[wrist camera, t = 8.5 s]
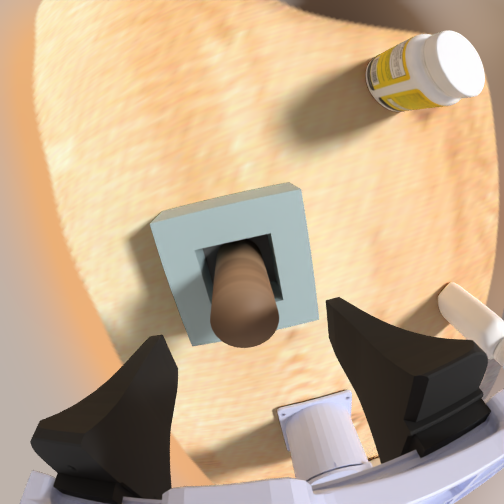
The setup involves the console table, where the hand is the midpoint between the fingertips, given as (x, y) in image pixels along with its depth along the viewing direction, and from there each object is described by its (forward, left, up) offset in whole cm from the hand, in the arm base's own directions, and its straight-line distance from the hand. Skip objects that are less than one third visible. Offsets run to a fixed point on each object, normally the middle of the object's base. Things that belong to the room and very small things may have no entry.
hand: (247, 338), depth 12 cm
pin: (0, 0, -9) cm, 9 cm away
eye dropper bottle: (-10, -20, -10) cm, 25 cm away
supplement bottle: (+11, -14, -10) cm, 20 cm away
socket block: (0, 0, -10) cm, 10 cm away
